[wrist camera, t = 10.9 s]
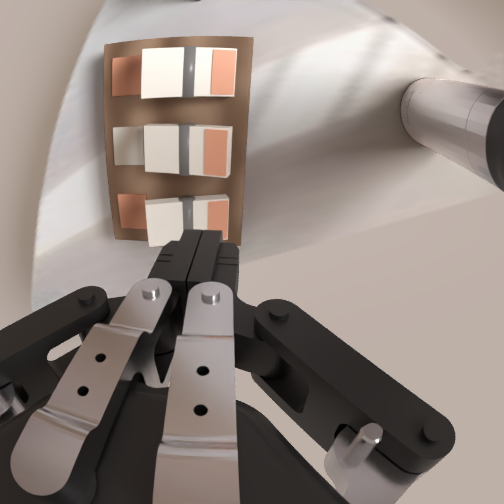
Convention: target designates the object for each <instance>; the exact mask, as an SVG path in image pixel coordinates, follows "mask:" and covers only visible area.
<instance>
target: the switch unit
mask: <svg viewBox="0 0 504 504" xmlns="http://www.w3.org/2000/svg"><path fill="white" fill-rule="evenodd" d="M183 46H197V47H207V48H233V49H237V58H236V74H235V91H234V97H230V96H197V97H191V98H179V97H161V98H144V99H141V76H142V49H150V48H176V47H183ZM252 53H253V37H232V36H192V37H170V38H156V39H145V40H135V41H127V42H119V43H112V44H106V45H104V129H105V147H106V162H107V174H108V184H109V194H110V203H111V211H112V219H113V226H114V233H115V239H118V240H138V241H148V231H147V220H146V208H145V200H154V199H165V198H177V197H181V196H184V195H191V196H204V195H220V194H226V195H227V196H228V198H229V218H228V239H227V240H223V243H235V245H236V246H241V231H242V213H243V195H244V178H245V161H246V144H247V128H248V112H249V97H250V82H251V67H252ZM181 123H195V124H196V125H218V126H233V127H232V147H231V169H230V175H229V176H228V177H227V178H221V177H211V176H199V175H190V176H181V175H179V174H174V173H160V172H145V154H144V126H145V125H148V124H181Z"/></svg>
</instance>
